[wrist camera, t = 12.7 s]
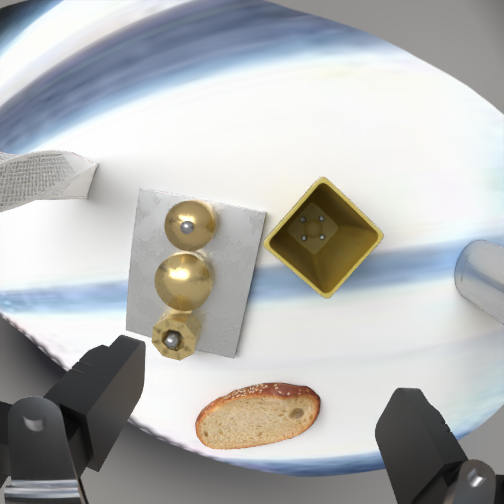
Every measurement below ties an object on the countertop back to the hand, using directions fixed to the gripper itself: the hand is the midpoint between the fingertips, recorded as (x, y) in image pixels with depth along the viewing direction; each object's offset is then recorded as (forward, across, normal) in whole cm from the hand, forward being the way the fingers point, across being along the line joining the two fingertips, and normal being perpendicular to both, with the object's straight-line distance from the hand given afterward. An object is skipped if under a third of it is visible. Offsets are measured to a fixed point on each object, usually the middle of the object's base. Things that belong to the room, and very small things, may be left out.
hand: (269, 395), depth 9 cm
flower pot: (+30, -5, -2) cm, 31 cm away
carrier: (+30, +9, +8) cm, 32 cm away
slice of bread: (+31, -4, +29) cm, 43 cm away
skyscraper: (+30, +28, -3) cm, 41 cm away
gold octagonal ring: (+29, +9, +15) cm, 34 cm away
